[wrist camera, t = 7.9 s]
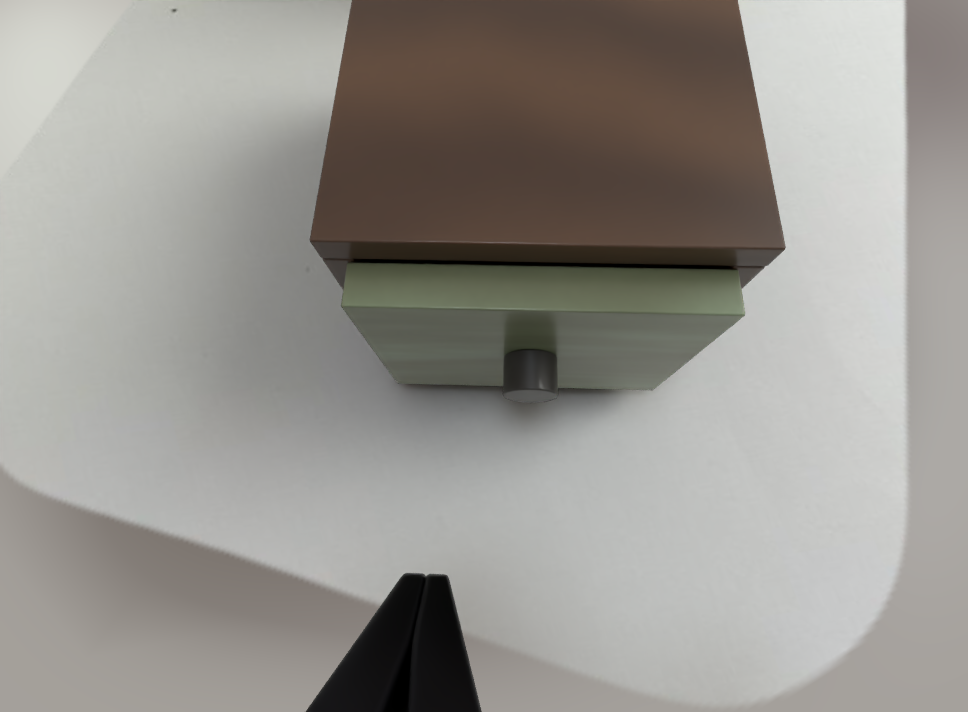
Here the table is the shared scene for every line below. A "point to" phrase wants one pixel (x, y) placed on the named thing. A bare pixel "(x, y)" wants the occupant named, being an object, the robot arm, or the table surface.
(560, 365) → the drawer
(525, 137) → the cabinet
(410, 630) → the robot arm
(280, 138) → the table surface
